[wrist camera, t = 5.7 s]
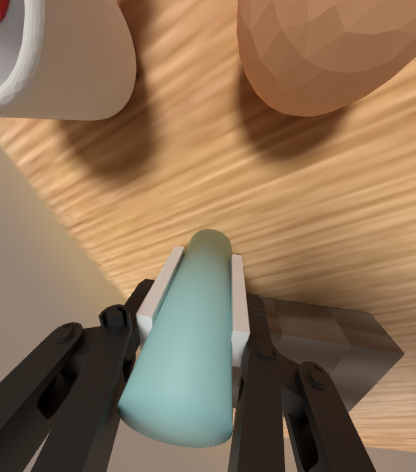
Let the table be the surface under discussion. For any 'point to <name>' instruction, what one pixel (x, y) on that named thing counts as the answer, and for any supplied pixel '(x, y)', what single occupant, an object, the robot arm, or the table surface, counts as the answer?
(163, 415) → the peg
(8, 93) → the cup
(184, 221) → the table surface
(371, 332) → the socket
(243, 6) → the egg
